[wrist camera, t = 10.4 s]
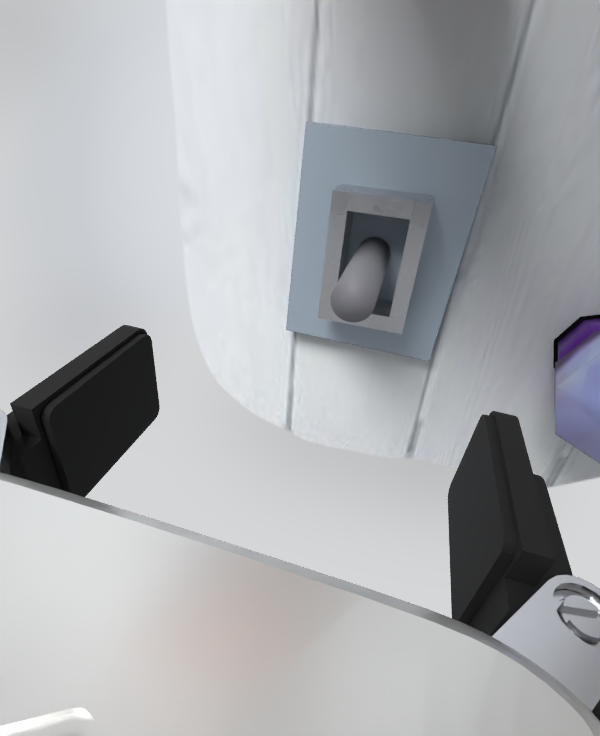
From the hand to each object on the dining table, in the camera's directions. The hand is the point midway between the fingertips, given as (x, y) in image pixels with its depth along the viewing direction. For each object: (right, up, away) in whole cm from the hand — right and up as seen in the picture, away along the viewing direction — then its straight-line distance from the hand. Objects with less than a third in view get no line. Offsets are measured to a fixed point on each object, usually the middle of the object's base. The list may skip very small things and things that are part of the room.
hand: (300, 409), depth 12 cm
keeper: (+5, +10, +17) cm, 20 cm away
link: (+5, +9, +16) cm, 19 cm away
